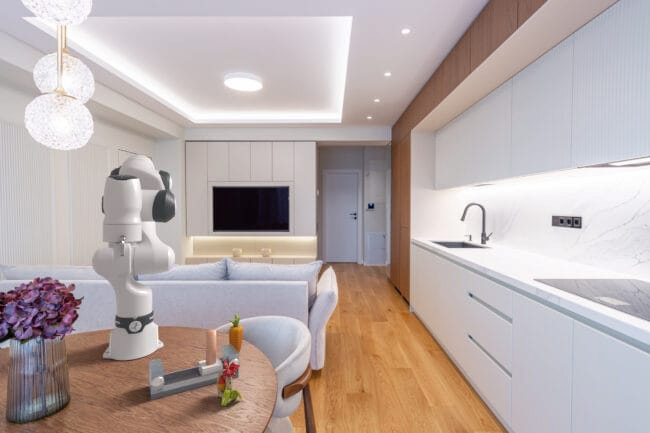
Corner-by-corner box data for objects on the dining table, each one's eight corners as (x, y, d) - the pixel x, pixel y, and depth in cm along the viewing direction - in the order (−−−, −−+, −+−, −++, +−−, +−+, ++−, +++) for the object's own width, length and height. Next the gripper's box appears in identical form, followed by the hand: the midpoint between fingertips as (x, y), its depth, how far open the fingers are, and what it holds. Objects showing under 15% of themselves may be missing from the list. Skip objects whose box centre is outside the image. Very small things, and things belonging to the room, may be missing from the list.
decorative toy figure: (210, 409, 86) (226, 409, 80) (203, 366, 89) (218, 363, 83) (230, 399, 90) (247, 399, 85) (223, 359, 93) (239, 356, 88)
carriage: (198, 370, 99) (199, 329, 99) (218, 365, 102) (218, 326, 102) (202, 378, 94) (203, 335, 94) (222, 373, 97) (223, 331, 97)
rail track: (148, 386, 93) (149, 360, 92) (231, 366, 106) (231, 343, 105) (150, 401, 85) (151, 373, 85) (239, 377, 98) (239, 353, 98)
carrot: (238, 362, 108) (239, 318, 108) (225, 360, 109) (226, 317, 109) (245, 355, 113) (246, 314, 113) (232, 354, 114) (233, 313, 114)
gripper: (137, 237, 78) (137, 293, 78) (135, 232, 95) (134, 277, 95) (106, 238, 74) (106, 296, 75) (109, 232, 92) (109, 280, 92)
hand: (122, 285), depth 85 cm, fingers open, 8 cm apart
